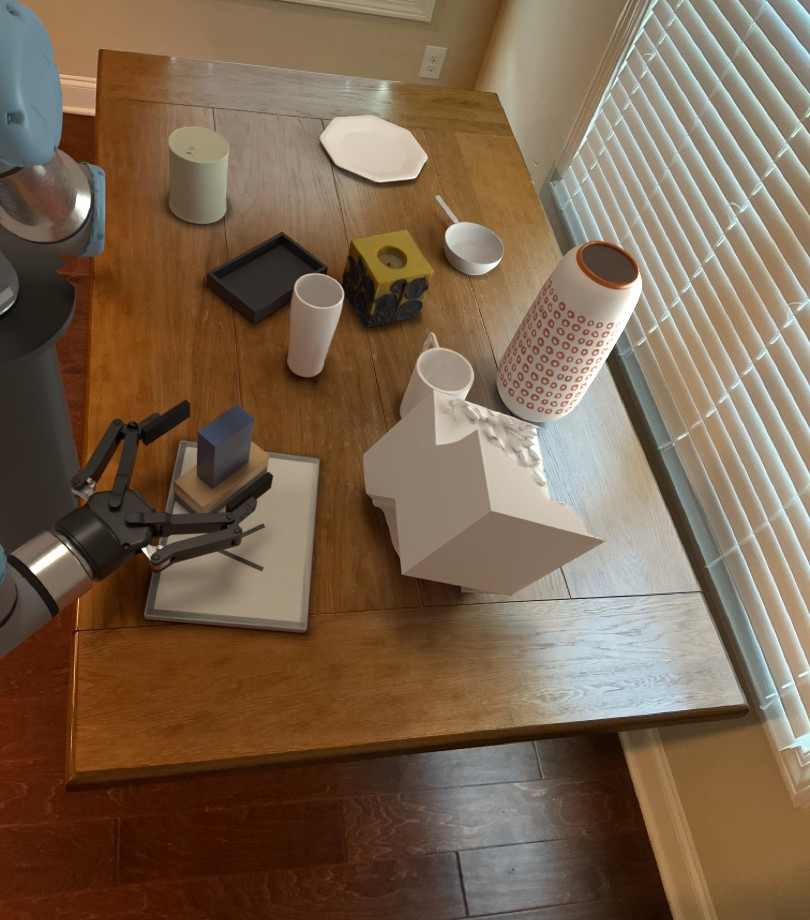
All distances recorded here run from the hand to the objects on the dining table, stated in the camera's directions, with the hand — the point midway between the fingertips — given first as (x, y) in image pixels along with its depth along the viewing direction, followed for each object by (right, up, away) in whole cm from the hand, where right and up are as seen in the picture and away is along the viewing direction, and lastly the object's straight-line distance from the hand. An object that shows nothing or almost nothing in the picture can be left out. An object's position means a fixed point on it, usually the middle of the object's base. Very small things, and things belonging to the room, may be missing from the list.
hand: (228, 443), depth 88 cm
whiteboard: (0, -11, +5) cm, 12 cm away
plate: (+14, +57, +56) cm, 81 cm away
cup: (+23, +6, +24) cm, 34 cm away
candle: (+17, +24, +34) cm, 44 cm away
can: (-14, +40, +36) cm, 56 cm away
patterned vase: (+40, +7, +29) cm, 50 cm away
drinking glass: (+6, +12, +23) cm, 26 cm away
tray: (-1, +26, +30) cm, 40 cm away
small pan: (+30, +37, +47) cm, 67 cm away
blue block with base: (-3, -5, +7) cm, 9 cm away
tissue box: (+25, -13, +11) cm, 31 cm away
